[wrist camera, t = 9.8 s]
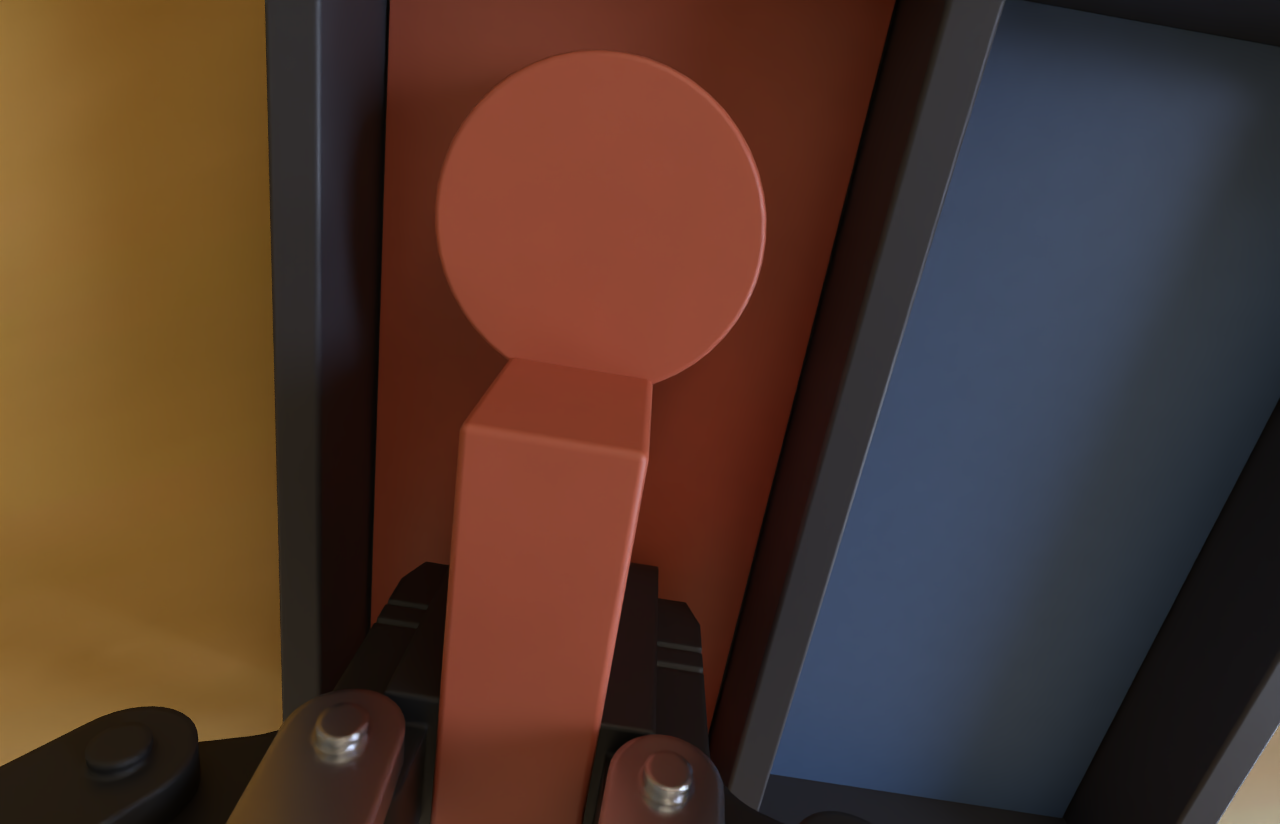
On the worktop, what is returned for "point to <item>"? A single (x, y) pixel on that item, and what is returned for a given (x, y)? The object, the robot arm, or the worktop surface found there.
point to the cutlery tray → (856, 384)
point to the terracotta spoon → (570, 394)
